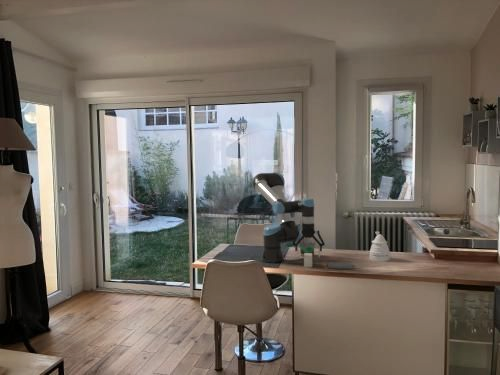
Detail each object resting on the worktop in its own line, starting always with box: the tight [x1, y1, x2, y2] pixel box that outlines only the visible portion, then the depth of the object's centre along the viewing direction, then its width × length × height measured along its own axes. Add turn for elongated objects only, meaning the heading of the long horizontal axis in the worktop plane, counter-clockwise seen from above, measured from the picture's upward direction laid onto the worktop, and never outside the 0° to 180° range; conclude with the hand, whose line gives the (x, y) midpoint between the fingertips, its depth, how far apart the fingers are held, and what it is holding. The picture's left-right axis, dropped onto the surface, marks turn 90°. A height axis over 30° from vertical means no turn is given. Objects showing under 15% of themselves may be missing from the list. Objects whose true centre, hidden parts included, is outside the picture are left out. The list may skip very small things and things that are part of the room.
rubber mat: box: [327, 262, 354, 270], centre depth 264 cm, size 15×13×1 cm
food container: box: [298, 240, 316, 258], centre depth 291 cm, size 12×6×10 cm, turn 112°
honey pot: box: [369, 231, 391, 262], centre depth 281 cm, size 13×13×18 cm
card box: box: [303, 253, 313, 268], centre depth 267 cm, size 5×9×7 cm, turn 171°
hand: (308, 256), depth 266 cm, fingers open, 13 cm apart
